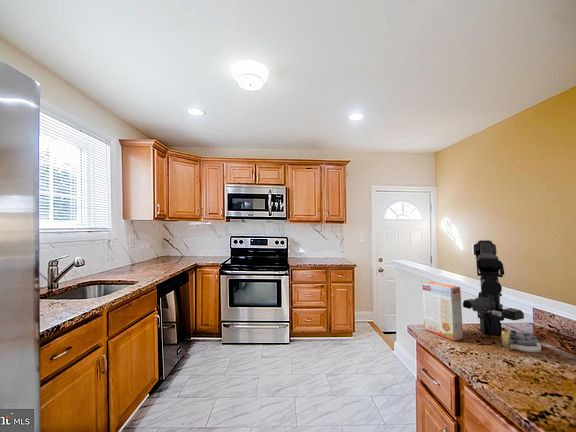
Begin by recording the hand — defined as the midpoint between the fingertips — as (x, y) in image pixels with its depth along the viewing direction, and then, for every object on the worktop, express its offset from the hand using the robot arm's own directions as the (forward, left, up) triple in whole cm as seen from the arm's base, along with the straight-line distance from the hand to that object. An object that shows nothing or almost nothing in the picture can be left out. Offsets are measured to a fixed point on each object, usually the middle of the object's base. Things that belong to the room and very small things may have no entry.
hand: (492, 331), depth 103 cm
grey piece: (+8, -1, -3) cm, 8 cm away
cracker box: (-14, +10, -5) cm, 18 cm away
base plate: (+10, +1, -5) cm, 11 cm away
